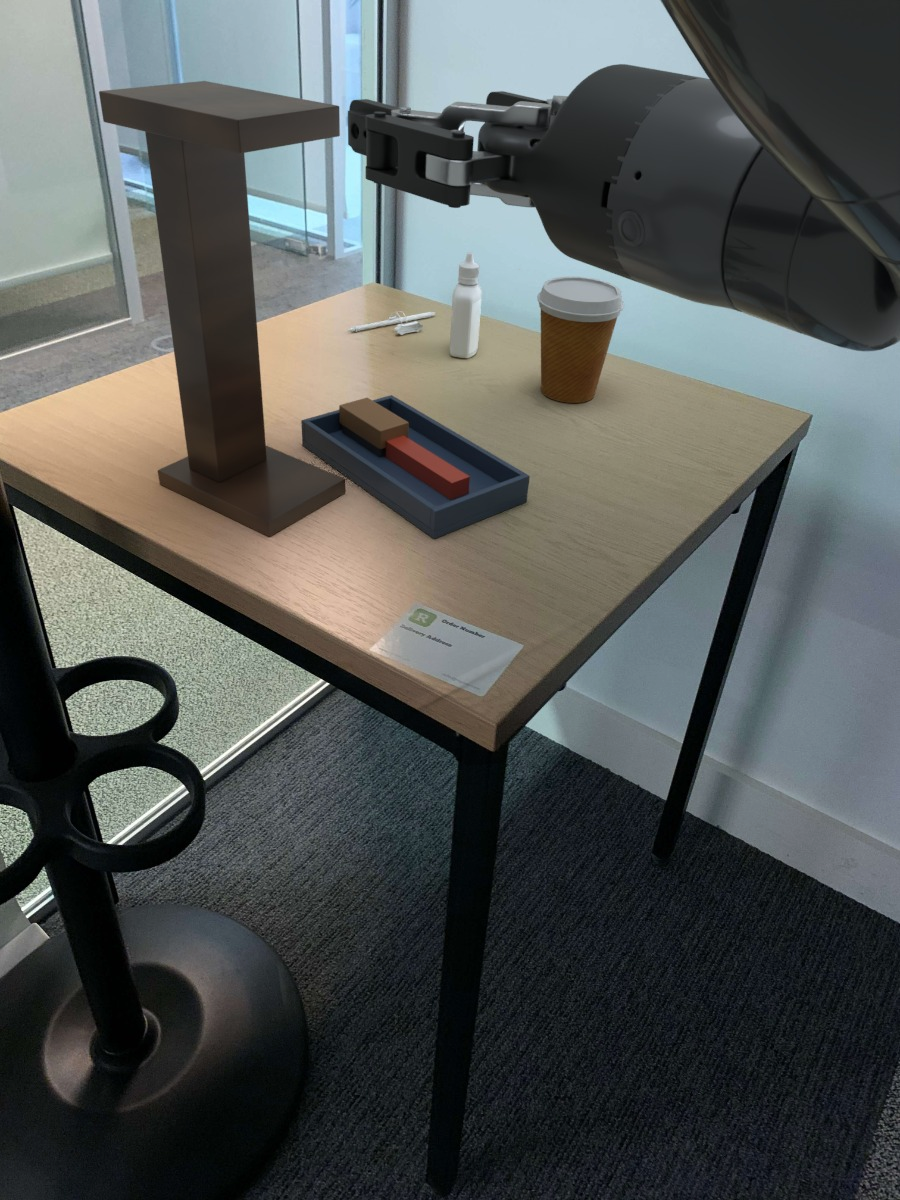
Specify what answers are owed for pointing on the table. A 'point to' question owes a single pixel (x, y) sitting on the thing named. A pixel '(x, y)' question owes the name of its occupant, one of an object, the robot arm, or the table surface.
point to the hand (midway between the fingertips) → (425, 118)
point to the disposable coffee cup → (575, 335)
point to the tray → (406, 494)
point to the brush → (399, 446)
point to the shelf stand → (221, 288)
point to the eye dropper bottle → (466, 310)
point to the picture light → (401, 327)
